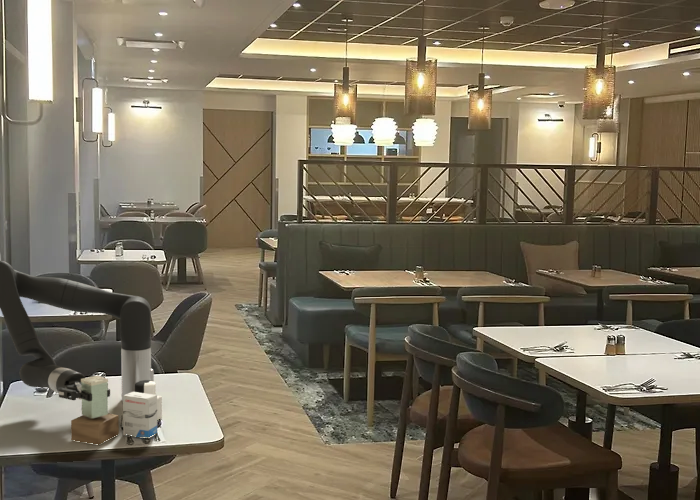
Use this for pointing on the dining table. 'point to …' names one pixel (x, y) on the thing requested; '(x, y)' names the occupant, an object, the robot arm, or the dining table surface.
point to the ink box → (139, 414)
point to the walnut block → (94, 428)
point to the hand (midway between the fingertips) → (99, 395)
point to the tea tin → (95, 396)
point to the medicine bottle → (150, 388)
